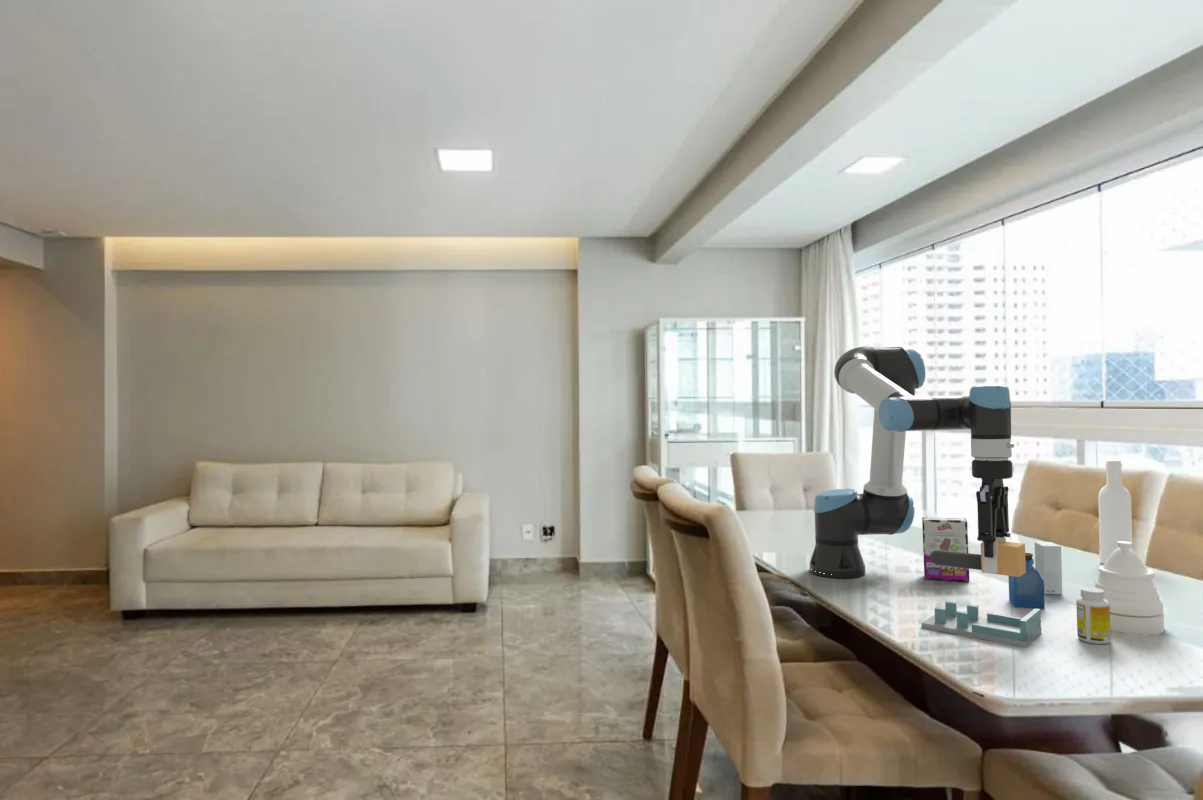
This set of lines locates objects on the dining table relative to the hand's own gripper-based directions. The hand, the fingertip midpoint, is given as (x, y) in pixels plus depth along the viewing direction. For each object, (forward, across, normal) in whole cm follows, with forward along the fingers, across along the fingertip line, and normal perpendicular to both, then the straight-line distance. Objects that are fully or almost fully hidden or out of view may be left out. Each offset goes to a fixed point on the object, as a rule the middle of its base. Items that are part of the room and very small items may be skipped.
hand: (995, 570), depth 153 cm
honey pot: (+13, +23, -19) cm, 33 cm away
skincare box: (+13, +43, 0) cm, 45 cm away
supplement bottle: (+13, +7, -16) cm, 22 cm away
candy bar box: (+13, +41, +24) cm, 50 cm away
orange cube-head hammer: (0, 0, +4) cm, 4 cm away
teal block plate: (+13, 0, +3) cm, 14 cm away
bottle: (+13, +88, -7) cm, 89 cm away
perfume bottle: (+13, +27, +1) cm, 30 cm away
